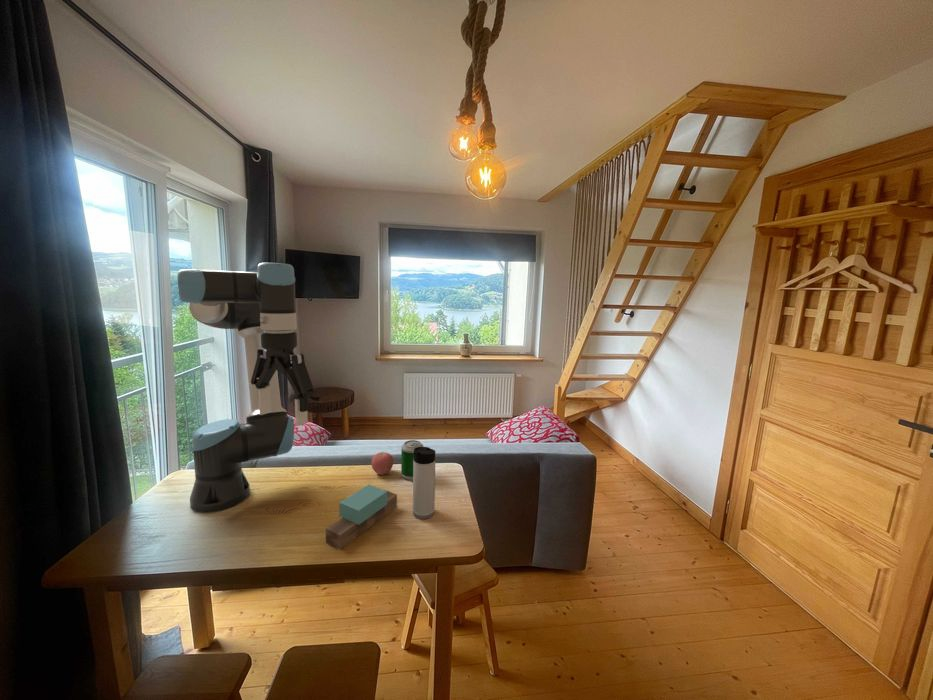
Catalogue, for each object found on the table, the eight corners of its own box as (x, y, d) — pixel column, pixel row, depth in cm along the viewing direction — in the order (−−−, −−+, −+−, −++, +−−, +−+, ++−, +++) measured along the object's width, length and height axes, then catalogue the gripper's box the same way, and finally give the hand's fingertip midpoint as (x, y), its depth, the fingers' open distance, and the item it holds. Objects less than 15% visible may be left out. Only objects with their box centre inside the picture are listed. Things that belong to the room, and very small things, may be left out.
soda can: (418, 482, 127) (419, 449, 125) (397, 479, 128) (398, 446, 126) (425, 472, 134) (426, 440, 132) (405, 469, 136) (406, 438, 134)
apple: (367, 475, 130) (367, 453, 129) (379, 466, 137) (379, 445, 136) (385, 480, 128) (385, 458, 126) (397, 470, 134) (397, 449, 133)
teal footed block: (339, 528, 101) (339, 502, 100) (368, 508, 110) (368, 484, 109) (358, 537, 98) (358, 510, 96) (387, 515, 107) (387, 491, 106)
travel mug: (407, 513, 110) (408, 448, 106) (424, 504, 114) (425, 442, 111) (421, 522, 105) (422, 455, 102) (438, 513, 110) (440, 448, 107)
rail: (326, 542, 96) (325, 528, 95) (384, 501, 115) (384, 489, 114) (340, 549, 93) (339, 535, 93) (396, 506, 112) (397, 494, 112)
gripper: (231, 328, 90) (236, 413, 93) (300, 337, 78) (304, 434, 81) (261, 325, 96) (265, 405, 100) (329, 334, 85) (331, 424, 88)
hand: (283, 418), depth 91 cm, fingers open, 13 cm apart
